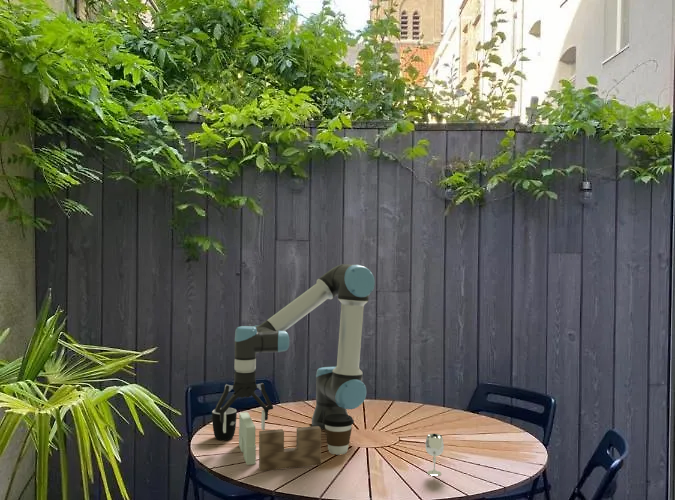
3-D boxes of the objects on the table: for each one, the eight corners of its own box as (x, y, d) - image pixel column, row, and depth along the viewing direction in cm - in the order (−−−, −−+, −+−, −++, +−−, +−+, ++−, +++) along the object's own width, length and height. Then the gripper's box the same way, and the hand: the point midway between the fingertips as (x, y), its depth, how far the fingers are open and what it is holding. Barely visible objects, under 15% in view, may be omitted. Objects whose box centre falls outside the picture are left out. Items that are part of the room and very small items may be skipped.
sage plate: (247, 444, 221) (247, 411, 221) (255, 464, 202) (255, 427, 201) (238, 445, 220) (239, 412, 220) (246, 464, 201) (246, 428, 200)
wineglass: (423, 470, 197) (423, 433, 197) (440, 469, 198) (441, 432, 198) (427, 477, 192) (427, 438, 191) (445, 476, 192) (445, 438, 192)
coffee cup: (357, 448, 217) (357, 415, 217) (348, 459, 207) (348, 423, 207) (328, 445, 221) (328, 412, 220) (317, 455, 210) (318, 420, 210)
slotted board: (318, 461, 204) (318, 426, 204) (320, 464, 201) (321, 428, 201) (259, 467, 198) (259, 430, 198) (260, 471, 195) (260, 433, 195)
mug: (231, 442, 223) (231, 414, 223) (208, 441, 224) (208, 413, 224) (242, 432, 235) (242, 406, 234) (220, 430, 236) (220, 404, 236)
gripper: (277, 367, 223) (276, 425, 223) (208, 369, 216) (207, 429, 216) (281, 371, 215) (280, 431, 216) (209, 374, 208) (208, 436, 209)
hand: (243, 430), depth 216 cm, fingers open, 13 cm apart
